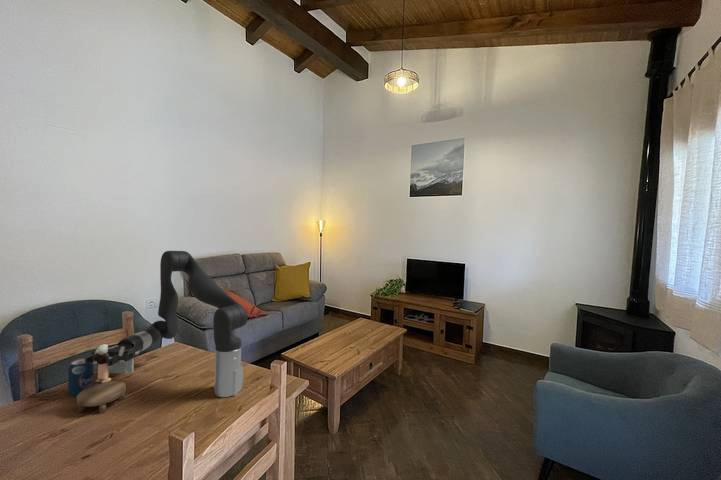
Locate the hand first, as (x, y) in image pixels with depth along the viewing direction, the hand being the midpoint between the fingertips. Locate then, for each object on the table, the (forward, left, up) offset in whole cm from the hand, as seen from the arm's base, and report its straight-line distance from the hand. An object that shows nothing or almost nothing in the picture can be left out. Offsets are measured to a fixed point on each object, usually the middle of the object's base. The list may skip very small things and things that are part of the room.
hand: (97, 362), depth 104 cm
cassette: (+14, -24, -16) cm, 32 cm away
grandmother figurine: (0, -2, -7) cm, 8 cm away
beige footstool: (0, -2, -16) cm, 16 cm away
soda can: (+14, -8, -16) cm, 23 cm away
